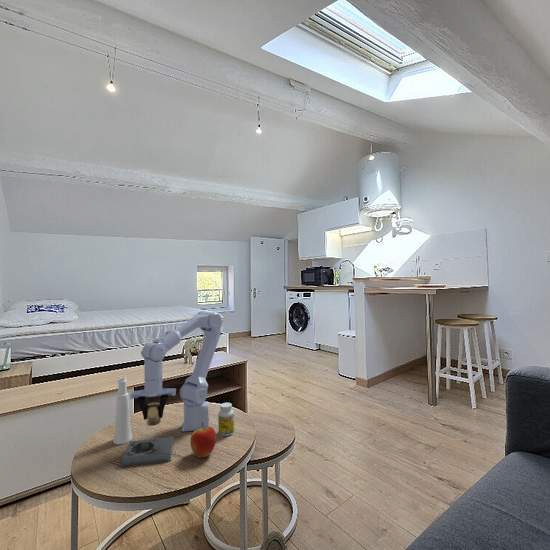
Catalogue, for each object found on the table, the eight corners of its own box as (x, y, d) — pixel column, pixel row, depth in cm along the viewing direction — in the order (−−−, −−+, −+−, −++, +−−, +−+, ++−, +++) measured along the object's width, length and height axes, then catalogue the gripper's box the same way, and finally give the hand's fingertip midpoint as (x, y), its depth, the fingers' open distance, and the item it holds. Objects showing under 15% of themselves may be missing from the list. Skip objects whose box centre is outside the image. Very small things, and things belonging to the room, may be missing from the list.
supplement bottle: (236, 430, 117) (236, 402, 117) (230, 437, 112) (229, 408, 112) (222, 428, 119) (222, 400, 119) (215, 435, 113) (215, 406, 113)
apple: (193, 465, 95) (192, 432, 96) (188, 451, 103) (188, 421, 103) (219, 458, 99) (218, 426, 99) (212, 445, 106) (212, 416, 106)
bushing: (161, 419, 111) (161, 401, 111) (159, 425, 106) (159, 407, 106) (147, 420, 110) (147, 402, 110) (145, 426, 105) (145, 408, 105)
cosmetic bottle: (109, 442, 109) (108, 378, 109) (124, 434, 115) (124, 373, 115) (121, 446, 106) (120, 381, 107) (135, 438, 112) (135, 376, 112)
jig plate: (173, 444, 108) (173, 436, 108) (170, 460, 98) (170, 452, 98) (130, 448, 105) (130, 441, 105) (121, 466, 95) (121, 458, 95)
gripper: (127, 383, 103) (127, 424, 103) (174, 380, 106) (174, 420, 105) (133, 376, 110) (133, 415, 109) (176, 373, 112) (176, 412, 112)
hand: (153, 417), depth 108 cm, fingers closed on bushing, 4 cm apart
